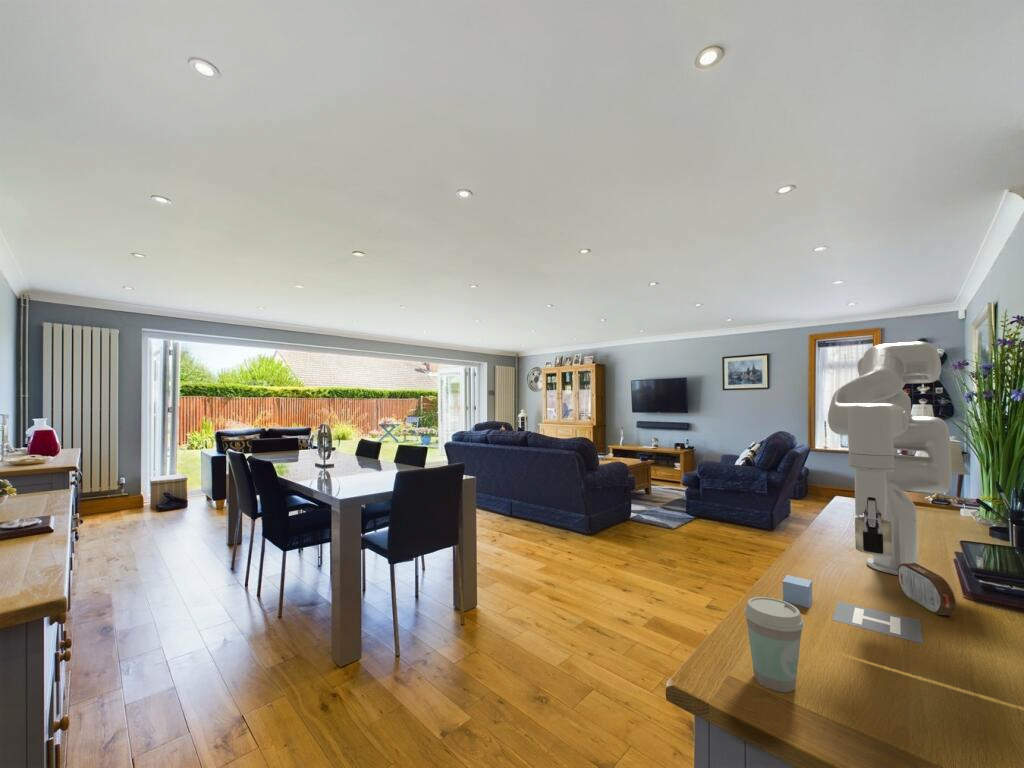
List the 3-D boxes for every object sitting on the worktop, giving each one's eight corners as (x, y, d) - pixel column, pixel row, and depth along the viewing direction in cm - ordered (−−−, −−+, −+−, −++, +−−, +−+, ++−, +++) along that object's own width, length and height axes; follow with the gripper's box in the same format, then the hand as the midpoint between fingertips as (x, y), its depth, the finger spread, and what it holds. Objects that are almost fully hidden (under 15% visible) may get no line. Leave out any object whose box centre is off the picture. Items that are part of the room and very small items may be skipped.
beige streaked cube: (856, 544, 98) (855, 515, 99) (891, 550, 95) (890, 520, 95) (855, 551, 94) (854, 520, 94) (892, 558, 90) (891, 526, 90)
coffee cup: (784, 704, 67) (783, 623, 68) (733, 674, 75) (732, 601, 75) (817, 688, 71) (815, 611, 72) (765, 661, 79) (764, 591, 79)
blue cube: (787, 596, 106) (786, 575, 106) (812, 602, 103) (811, 580, 103) (783, 603, 102) (782, 581, 102) (809, 610, 99) (808, 587, 99)
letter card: (837, 602, 102) (837, 601, 102) (920, 622, 93) (920, 620, 93) (832, 621, 93) (832, 619, 93) (923, 645, 84) (923, 643, 84)
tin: (958, 623, 93) (956, 582, 94) (940, 621, 94) (939, 580, 94) (910, 593, 108) (908, 558, 108) (895, 592, 109) (894, 557, 109)
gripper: (850, 457, 104) (852, 535, 103) (846, 465, 91) (849, 554, 90) (893, 459, 99) (895, 542, 99) (895, 468, 86) (898, 563, 85)
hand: (873, 547), depth 94 cm, fingers closed on beige streaked cube, 6 cm apart
